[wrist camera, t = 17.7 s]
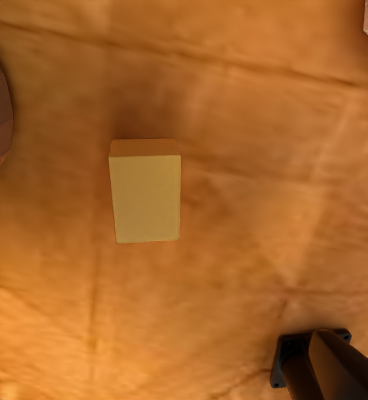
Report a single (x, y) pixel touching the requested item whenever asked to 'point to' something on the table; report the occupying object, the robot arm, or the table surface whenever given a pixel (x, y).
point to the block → (145, 189)
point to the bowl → (5, 118)
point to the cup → (366, 18)
